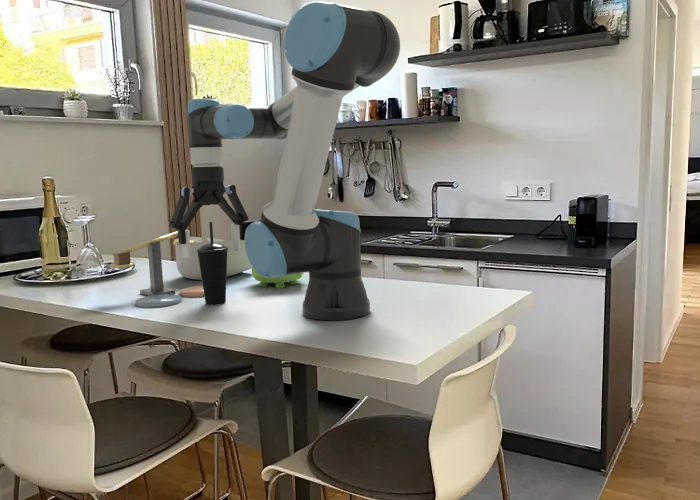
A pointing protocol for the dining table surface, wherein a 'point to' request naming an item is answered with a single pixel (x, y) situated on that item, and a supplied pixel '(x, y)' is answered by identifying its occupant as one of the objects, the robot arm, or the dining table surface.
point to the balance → (154, 263)
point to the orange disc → (192, 291)
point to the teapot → (276, 279)
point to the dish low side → (158, 300)
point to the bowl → (191, 266)
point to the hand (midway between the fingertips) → (212, 254)
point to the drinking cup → (213, 270)
